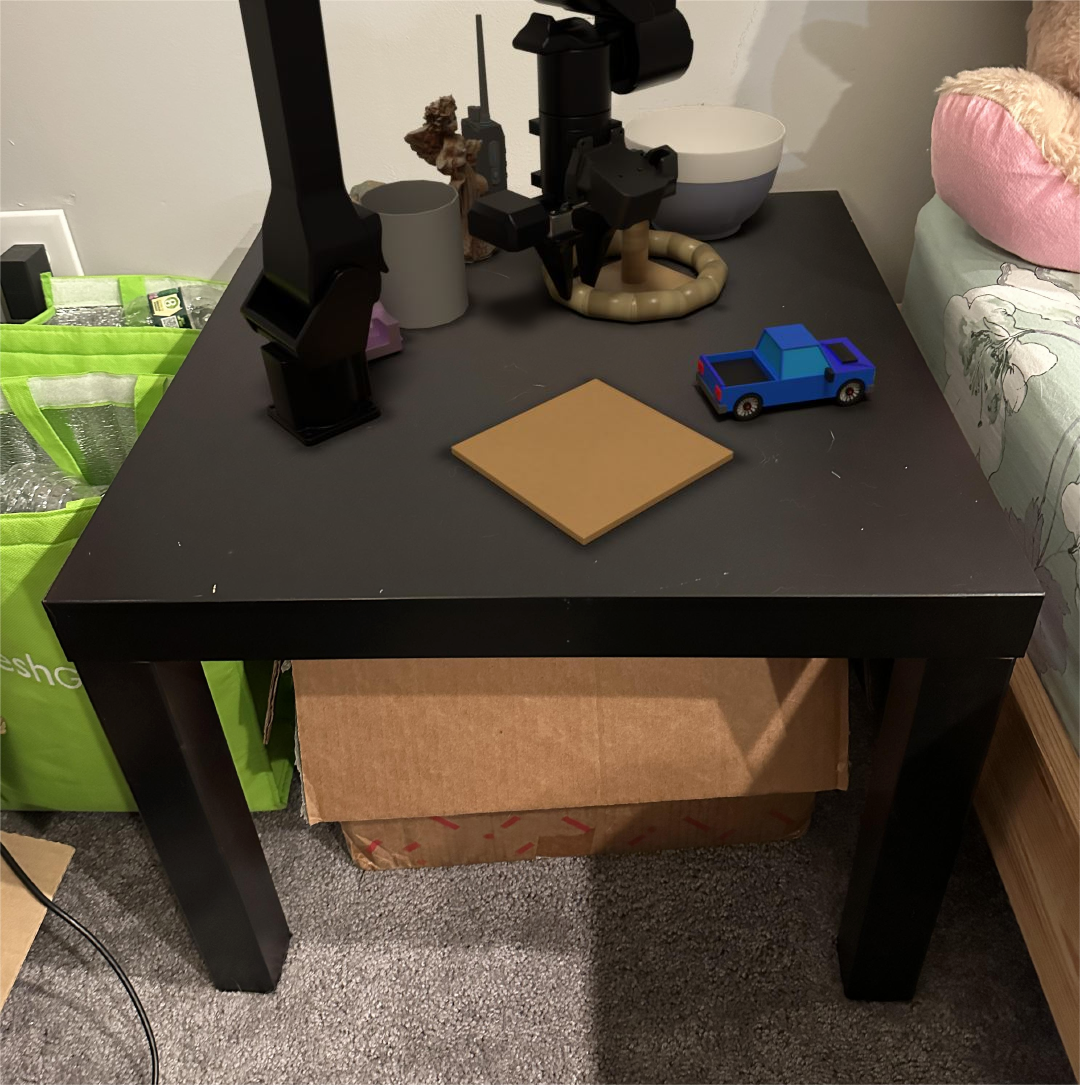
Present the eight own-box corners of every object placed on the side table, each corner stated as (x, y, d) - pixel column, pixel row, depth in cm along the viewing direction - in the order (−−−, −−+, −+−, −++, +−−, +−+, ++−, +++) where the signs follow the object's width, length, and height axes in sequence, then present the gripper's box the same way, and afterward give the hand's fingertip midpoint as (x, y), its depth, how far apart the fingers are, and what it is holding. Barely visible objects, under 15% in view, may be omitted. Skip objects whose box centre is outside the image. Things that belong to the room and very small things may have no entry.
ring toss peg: (633, 312, 84) (635, 239, 80) (573, 284, 89) (572, 214, 85) (695, 284, 88) (700, 214, 84) (634, 260, 93) (636, 191, 89)
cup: (453, 331, 82) (441, 217, 76) (363, 325, 84) (344, 213, 77) (477, 289, 89) (468, 181, 82) (393, 285, 90) (378, 178, 84)
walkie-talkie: (512, 226, 101) (501, 13, 88) (484, 232, 99) (468, 18, 87) (493, 212, 104) (479, 5, 91) (465, 218, 103) (447, 9, 90)
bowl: (738, 266, 91) (748, 163, 85) (592, 237, 97) (592, 139, 91) (796, 211, 101) (809, 116, 95) (660, 188, 108) (665, 98, 102)
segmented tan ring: (632, 344, 79) (633, 318, 78) (508, 284, 89) (507, 259, 88) (762, 285, 87) (765, 260, 86) (634, 235, 97) (635, 212, 96)
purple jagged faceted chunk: (415, 350, 80) (407, 283, 76) (341, 374, 77) (328, 306, 73) (374, 316, 85) (364, 251, 81) (302, 337, 82) (288, 272, 79)
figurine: (461, 273, 92) (445, 108, 82) (417, 259, 95) (397, 98, 85) (510, 248, 96) (501, 88, 86) (467, 235, 99) (453, 79, 89)
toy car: (875, 408, 70) (889, 347, 67) (720, 430, 69) (727, 369, 66) (836, 365, 76) (847, 307, 72) (691, 385, 74) (696, 326, 71)
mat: (583, 546, 59) (583, 538, 59) (451, 453, 68) (450, 446, 67) (733, 459, 66) (733, 451, 66) (595, 384, 75) (595, 378, 74)
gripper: (551, 158, 65) (557, 362, 75) (733, 101, 74) (716, 290, 84) (455, 125, 72) (471, 316, 81) (632, 77, 81) (628, 254, 90)
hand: (576, 294), depth 84 cm, fingers closed on segmented tan ring, 2 cm apart
